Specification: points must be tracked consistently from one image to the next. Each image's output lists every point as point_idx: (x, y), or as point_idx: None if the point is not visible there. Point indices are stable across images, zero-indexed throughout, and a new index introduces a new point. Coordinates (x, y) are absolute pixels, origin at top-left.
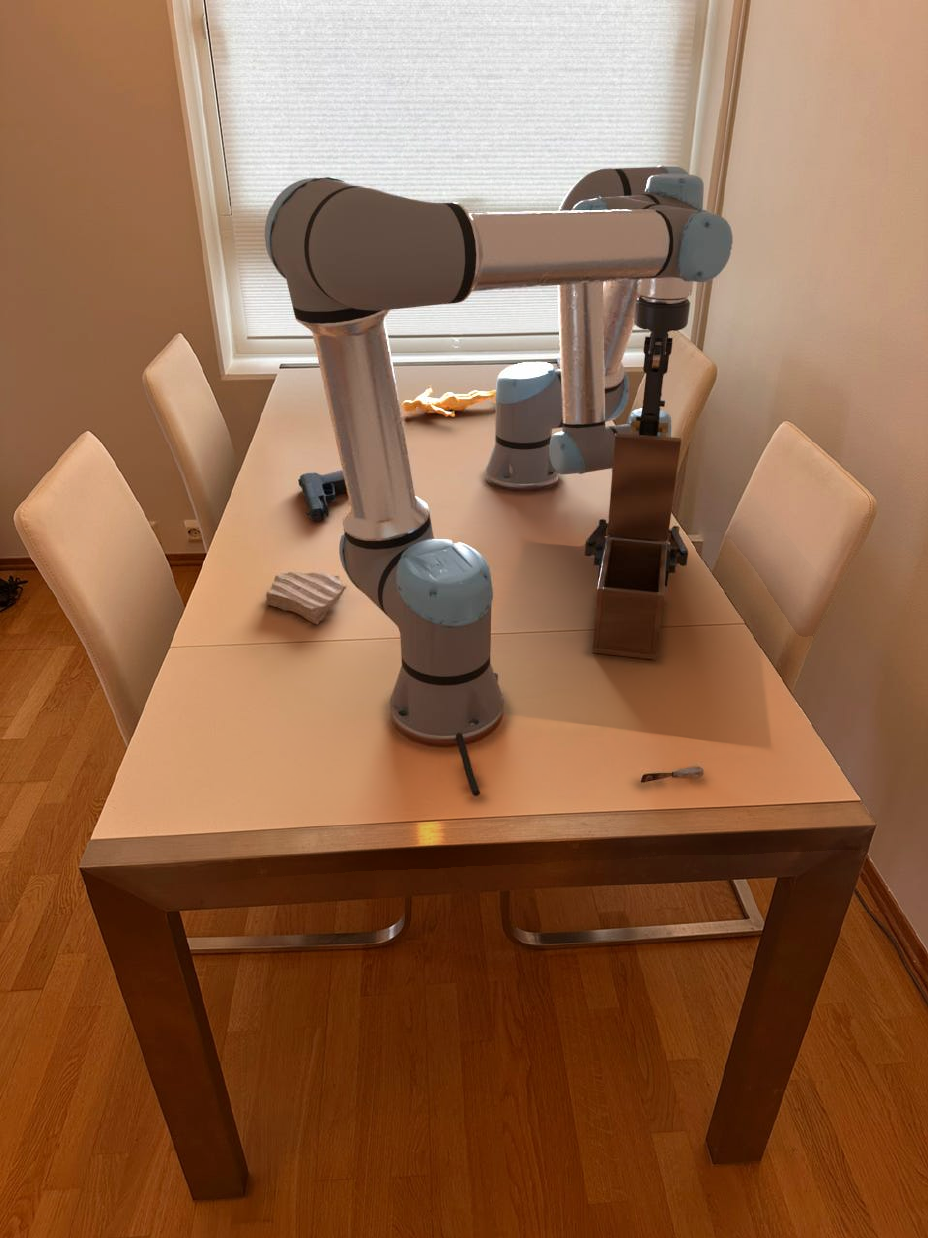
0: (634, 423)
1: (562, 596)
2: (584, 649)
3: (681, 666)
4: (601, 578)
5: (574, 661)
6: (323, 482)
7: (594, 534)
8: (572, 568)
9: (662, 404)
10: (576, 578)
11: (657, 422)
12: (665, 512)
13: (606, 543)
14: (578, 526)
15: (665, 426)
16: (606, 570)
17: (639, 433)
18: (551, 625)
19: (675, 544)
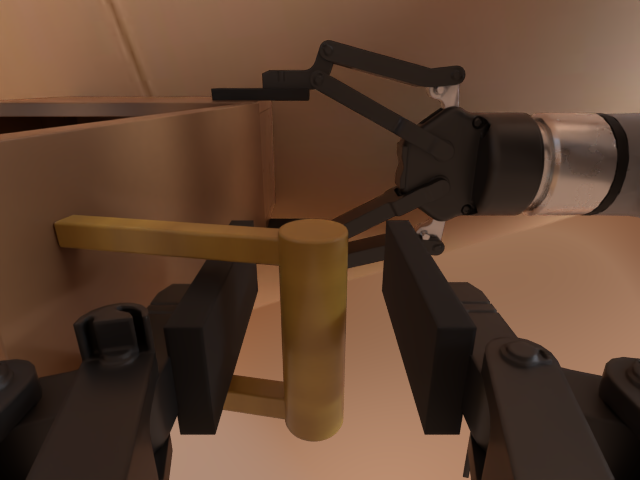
0: (286, 257)
1: (251, 11)
2: (77, 81)
3: None
4: (20, 107)
5: (33, 67)
6: None
7: (373, 60)
8: (376, 19)
9: (468, 465)
10: (333, 34)
11: (179, 420)
12: None
13: (212, 103)
14: (588, 8)
15: (287, 418)
16: (66, 116)
17: (194, 281)
18: (133, 3)
19: (368, 246)
